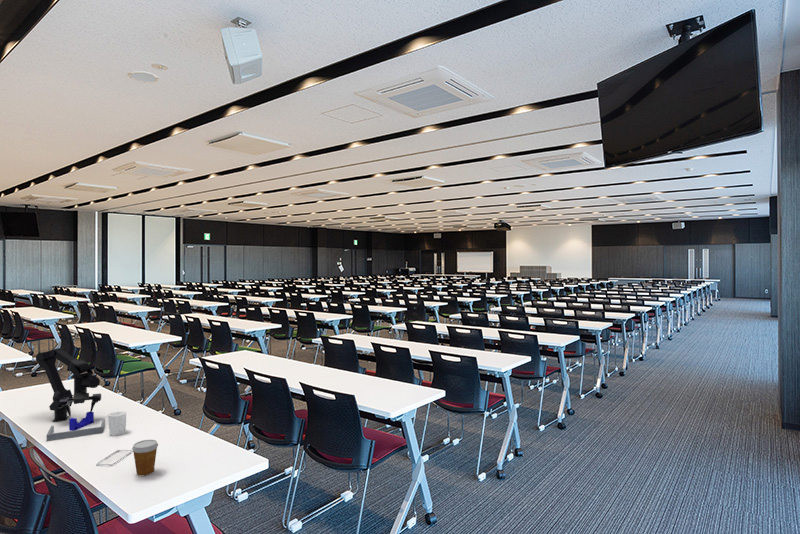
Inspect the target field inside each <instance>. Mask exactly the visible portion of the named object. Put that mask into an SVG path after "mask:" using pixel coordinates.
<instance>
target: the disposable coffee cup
mask: <svg viewBox="0 0 800 534" xmlns="http://www.w3.org/2000/svg"><path fill="white" fill-rule="evenodd" d="M158 446H159V443H158V441H157V440H156V439H143V440H140V441H137V442H135V443H134V444H133V445H132V448H131V450H133V452H132V453H133V457H134V458H133V459H134V464H135V470H136V471H135V472H136V475H137V474H138V475H137V476H139V475H144V476H148V475H147V474H149V475H150V473H151V474H153V473H154V472H155V465H156V464H155V463H156V459H157V458H156V456H157V450H158ZM152 472H153V473H152Z"/></svg>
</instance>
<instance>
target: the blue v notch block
mask: <svg viewBox="0 0 800 534" xmlns="http://www.w3.org/2000/svg"><path fill="white" fill-rule="evenodd" d="M94 413H95V412H94V411H92V412H90V411H87V412H86V413H85V417H83V418H81V420H80V421H78V420H77V418H75V417H70V418H68V420H69V422H68V423H69V424H68V427H69V428H68V429H69V430H68V431H74V430H81V429H83V428H84V427H86V426H89V425H92V424H94V421H95V418H94V416H95V415H94Z"/></svg>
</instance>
